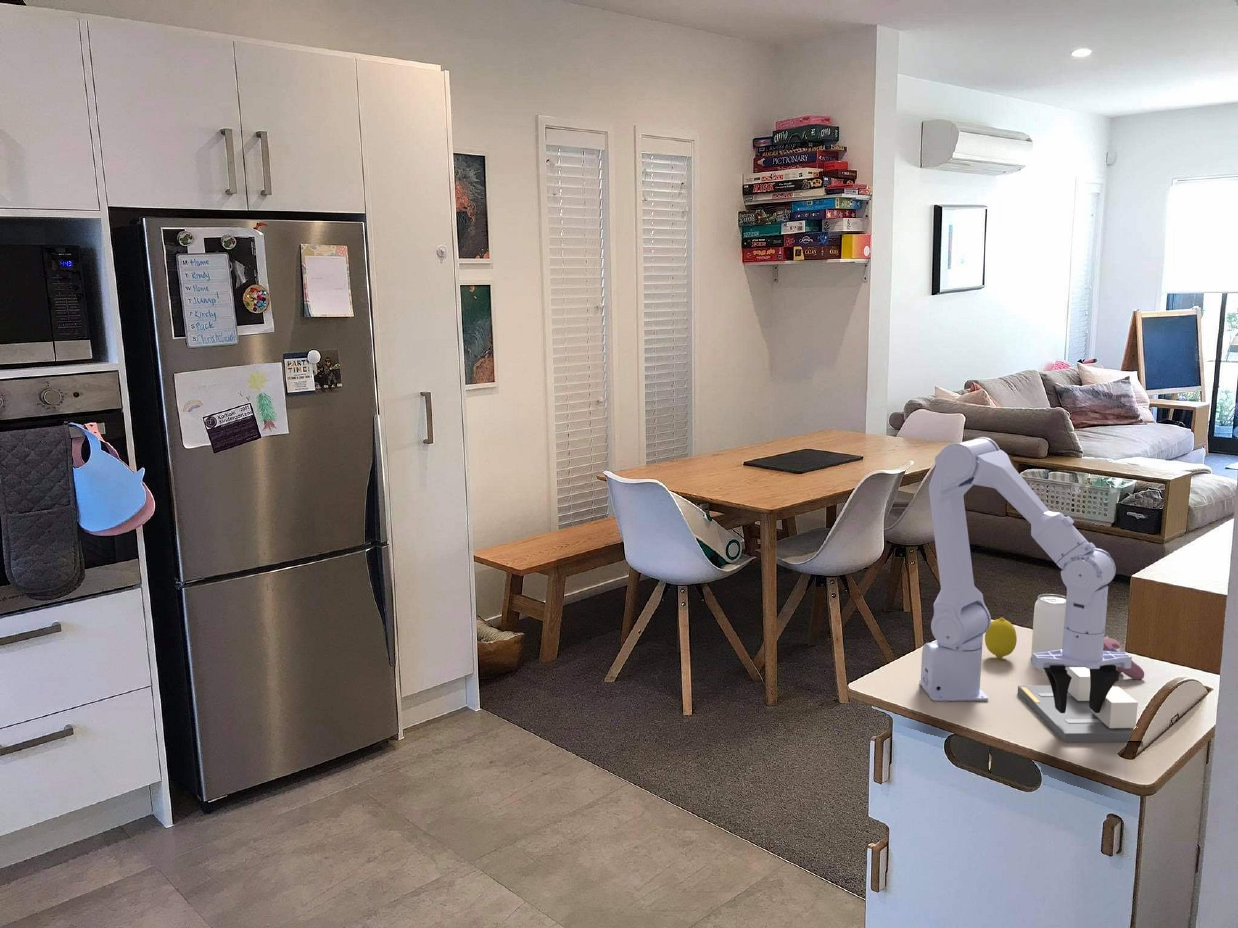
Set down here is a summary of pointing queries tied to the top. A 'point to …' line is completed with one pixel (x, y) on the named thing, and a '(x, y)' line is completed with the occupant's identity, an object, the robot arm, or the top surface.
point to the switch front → (1118, 709)
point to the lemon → (1001, 638)
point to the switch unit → (1071, 717)
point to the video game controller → (1133, 672)
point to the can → (1048, 623)
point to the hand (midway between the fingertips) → (1077, 710)
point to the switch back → (1079, 683)
